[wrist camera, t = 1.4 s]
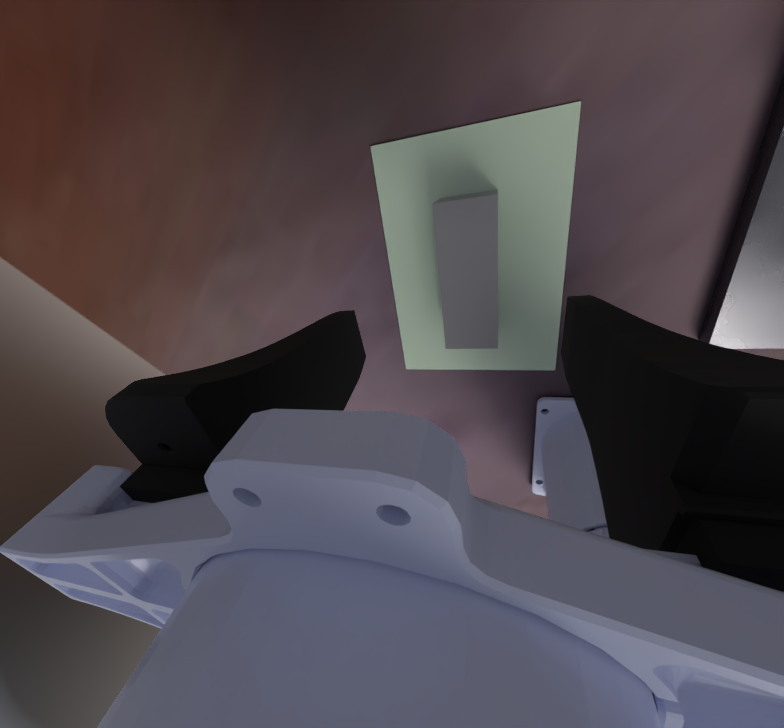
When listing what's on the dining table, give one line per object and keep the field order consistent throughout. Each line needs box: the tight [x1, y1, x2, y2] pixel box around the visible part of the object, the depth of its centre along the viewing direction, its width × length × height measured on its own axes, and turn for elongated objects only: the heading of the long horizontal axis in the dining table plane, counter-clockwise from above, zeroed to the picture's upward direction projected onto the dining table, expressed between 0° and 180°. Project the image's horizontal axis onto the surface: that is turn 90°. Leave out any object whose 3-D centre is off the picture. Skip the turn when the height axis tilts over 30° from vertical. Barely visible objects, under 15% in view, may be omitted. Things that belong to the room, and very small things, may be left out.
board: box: [370, 101, 581, 370], centre depth 19 cm, size 14×10×3 cm
